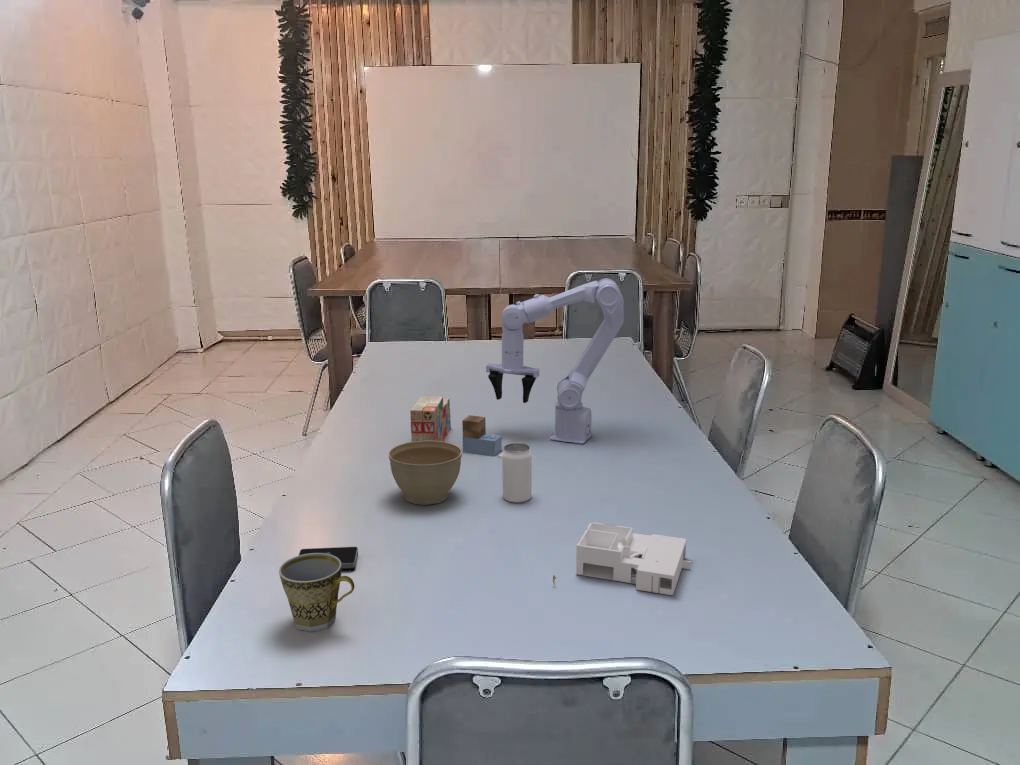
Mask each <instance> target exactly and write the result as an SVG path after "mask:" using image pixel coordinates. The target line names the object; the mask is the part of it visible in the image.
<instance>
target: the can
mask: <svg viewBox="0 0 1020 765" xmlns="http://www.w3.org/2000/svg"><path fill="white" fill-rule="evenodd" d="M502 452H503V454H502V457H501V459H502V464H501V465H502V470H501V471H502V475H501V476H502V477H501V479H502V498H503V500H505V501H506V502H509V503H514V504H521V503H525V502H528V501H529V500H530V499H531V498H532V488H533V487H532V483H533V482H532V478H533V476H532V475H533V474H532V467H533V465H532V464H533V463H532V457H533V456H532V452H531V449H530V446H529V445H528V444H526V443H520V442H514V443H508V444H506V445H505V446H504V447H503V451H502Z"/></svg>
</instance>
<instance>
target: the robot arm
mask: <svg viewBox="0 0 1020 765" xmlns="http://www.w3.org/2000/svg"><path fill="white" fill-rule="evenodd" d="M595 300H596V302H597V304H598V306H599V307H600V308H601V310H602V311H601V312H602V314H603V320H602V321H601V323H600V324H599V327H598V328H597V330H596V331H595V333H594V334H593V336H592V338H591V339H590V341H589V343H588V344H587V346H586V347H585V349H584V350H583V352H582V354H581V356H580V358H579V359H578V361H577V362H576V364H575V365H574V367H573V368H572V369H571V370H570V371H569V372H568V374H567V375H566V376H565V377H564V378H562V379H560V381H559V382H558V384H557V387H556V391H557V398H556V399H557V401H556V403H554V404H555V412H554V414H555V416H554V417H555V418H554V419H555V420H554V421H555V422H554V423H555V424H554V425H555V426H554V434H553V435H552V436H550V438H549V440H550V441H558V442H565V443H573V444H580V445H584V444H585V443H586V442H587V441H589V439H590V437H592V435H593V433H592V416H593V415H592V410H591V408H589V407H587V406H586V407H585V406H583V403H582V397H583V393H584V391H585V390H586V387H587V384H588V381H589V379H590V378H591V376H592V374H593V372H594V371H595V370H596V368H597V366H598V365H599V363H600V362H601V360H602V359H603V357H604V355H605V353H606V352H607V351H608V349H609V347H610V345H611V343H612V342H613V341H614V339H615V338H616V336H617V334H618V333H619V331H620V329H621V328H622V326H623V325H624V322H625V318H624V317H625V314H624V313H625V312H624V310H625V309H624V307H625V306H624V300H625V299H624V297H623V294H622V292H621V289H620V288H619V286H618V284H617V283H616V281H614V280H613V279H611V278H606V277H605V278H601V279H600V280H594V281H590V282H587V283H584V284H582V285H578V286H576V287H573V288H571V289H569V290H566V291H563V292H561V293H558V294H556V295H554V296H553V295H552V296H550V297H549V296H547V295H544V294H542V295H539V293H537V294H534V295H533V297H532V298H529V299H527V300H524V301H520V300H519V301H516V303H515V304H509V305H507V306H506V307H505V308H503V310H502V314H501V323H502V327H501V328H502V329H501V331H502V333H501V363H488V364H486V365H485V372H486V373H489V374H488V375H487V378H488V380H489V381H490V383H491V386H492V388H493V391H494V394H495V398H496V400H497V401H499V400H500V399H502V397H503V379H504V378H503V377H504V374H508V375H515V376H523V377H522V378H521V383H522V403H523V404H526V403H528V402H529V398H530V394H531V390H532V389H533V385H534V383H535V382H536V379H537V378H538V377H540V368H534V367H531V366H526V365H524V331H523V330H524V328H523V325H524V324H530V323H533V322H536V321H539V320H542V319H544V318H547V317H550V316H551V315H552V313H553V311H554V310H556V309H560V308H562V307H565V306H570V305H573V304H576V303H579V302H583V301H584V302H587V303H590V304H595Z"/></svg>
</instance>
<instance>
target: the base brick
mask: <svg viewBox="0 0 1020 765" xmlns="http://www.w3.org/2000/svg"><path fill="white" fill-rule="evenodd" d="M502 438H503V437H502V435H498V434H491V433H486V434H484V435H483V436H482V437H481V438H479V439H475V438H467V437H463V436H462V453H469V454H470V453H471V454H476V453H477V454H479V455H484V456H491V457H496V456H497V455H498V454H499V453H500V452H502V451H501V450H502V449H503V448H502V445H503V443H502V442H503V441H502Z"/></svg>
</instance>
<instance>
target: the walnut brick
mask: <svg viewBox="0 0 1020 765" xmlns="http://www.w3.org/2000/svg"><path fill="white" fill-rule="evenodd" d="M461 424H462V426H461V427H462V428H461V429H462V438H463V437H467V438H475V439H479V438H481V437H482V436H483V435H484V434H487V433H486V432H487V431H486V430H487V428H486V424H487V423H486V417H485V416H478V415H470V414H469V415H468V416H466V417H464V419H462V423H461Z"/></svg>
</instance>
